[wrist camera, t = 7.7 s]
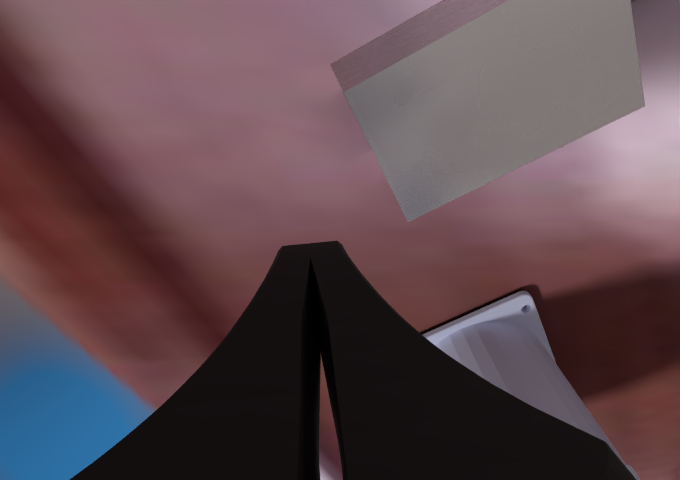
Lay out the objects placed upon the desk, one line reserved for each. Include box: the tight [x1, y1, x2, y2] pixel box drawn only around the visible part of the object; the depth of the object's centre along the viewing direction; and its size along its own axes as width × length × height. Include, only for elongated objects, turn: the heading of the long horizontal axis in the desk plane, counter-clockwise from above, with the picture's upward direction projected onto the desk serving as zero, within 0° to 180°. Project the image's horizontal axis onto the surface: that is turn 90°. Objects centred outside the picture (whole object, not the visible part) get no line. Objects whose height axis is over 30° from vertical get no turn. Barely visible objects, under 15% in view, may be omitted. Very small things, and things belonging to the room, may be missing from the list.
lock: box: [330, 0, 645, 222], centre depth 15 cm, size 8×5×5 cm, turn 117°
